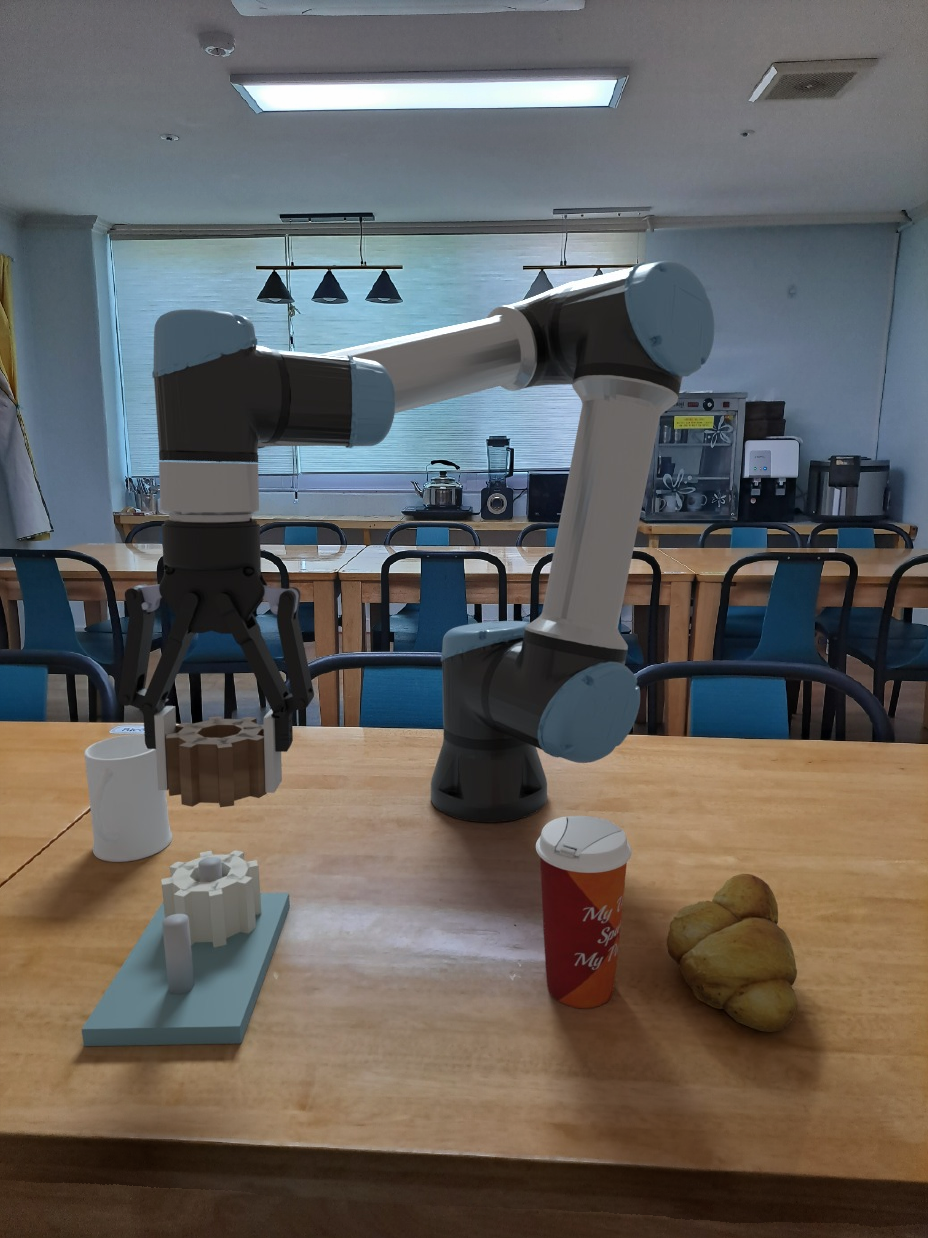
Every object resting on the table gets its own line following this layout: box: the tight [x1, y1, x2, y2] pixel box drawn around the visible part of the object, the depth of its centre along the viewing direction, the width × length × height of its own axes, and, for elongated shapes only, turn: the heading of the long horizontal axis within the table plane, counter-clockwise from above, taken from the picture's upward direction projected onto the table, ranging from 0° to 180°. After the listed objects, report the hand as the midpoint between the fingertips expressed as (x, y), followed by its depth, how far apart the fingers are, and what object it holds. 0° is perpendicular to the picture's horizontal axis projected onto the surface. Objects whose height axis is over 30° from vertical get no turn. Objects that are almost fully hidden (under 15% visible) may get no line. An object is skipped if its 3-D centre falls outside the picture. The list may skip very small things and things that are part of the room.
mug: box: [83, 734, 173, 863], centre depth 91 cm, size 12×8×12 cm
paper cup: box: [535, 815, 632, 1010], centre depth 67 cm, size 8×8×14 cm
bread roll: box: [666, 873, 799, 1033], centre depth 67 cm, size 13×10×8 cm
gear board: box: [81, 857, 291, 1047], centre depth 70 cm, size 12×19×8 cm, turn 1°
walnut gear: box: [166, 715, 268, 808], centre depth 68 cm, size 8×8×5 cm
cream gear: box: [160, 849, 262, 947], centre depth 75 cm, size 8×8×5 cm
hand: (221, 785), depth 69 cm, fingers closed on walnut gear, 8 cm apart
